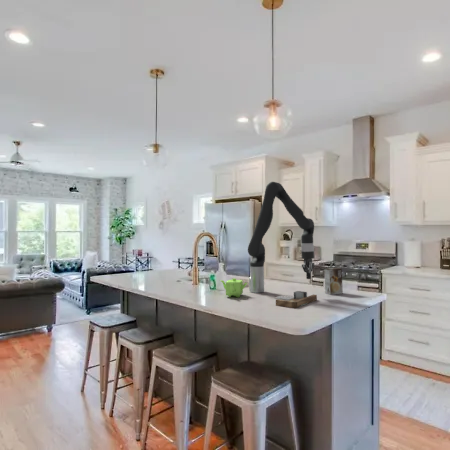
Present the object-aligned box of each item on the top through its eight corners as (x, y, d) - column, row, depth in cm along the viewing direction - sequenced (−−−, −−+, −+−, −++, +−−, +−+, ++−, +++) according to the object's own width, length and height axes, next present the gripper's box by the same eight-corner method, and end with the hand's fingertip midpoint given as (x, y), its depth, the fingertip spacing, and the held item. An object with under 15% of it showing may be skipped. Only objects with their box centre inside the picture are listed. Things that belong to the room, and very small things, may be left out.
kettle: (231, 299, 205) (231, 280, 206) (218, 296, 217) (218, 278, 217) (250, 296, 214) (250, 278, 214) (237, 293, 226) (236, 276, 226)
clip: (293, 298, 200) (293, 292, 200) (297, 297, 204) (297, 290, 204) (303, 300, 196) (303, 293, 196) (307, 298, 200) (306, 291, 200)
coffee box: (337, 292, 222) (336, 267, 222) (342, 293, 216) (342, 268, 216) (324, 293, 219) (324, 268, 220) (330, 294, 213) (329, 269, 214)
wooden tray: (275, 305, 186) (275, 299, 186) (298, 297, 206) (298, 292, 206) (295, 308, 178) (295, 302, 179) (316, 299, 198) (316, 294, 198)
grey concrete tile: (274, 298, 206) (274, 297, 206) (281, 296, 212) (281, 295, 212) (289, 300, 200) (289, 299, 200) (296, 297, 206) (296, 297, 206)
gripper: (306, 250, 216) (307, 277, 216) (297, 251, 206) (298, 279, 206) (318, 250, 211) (319, 278, 211) (308, 251, 201) (309, 280, 201)
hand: (308, 278), depth 208 cm, fingers closed
